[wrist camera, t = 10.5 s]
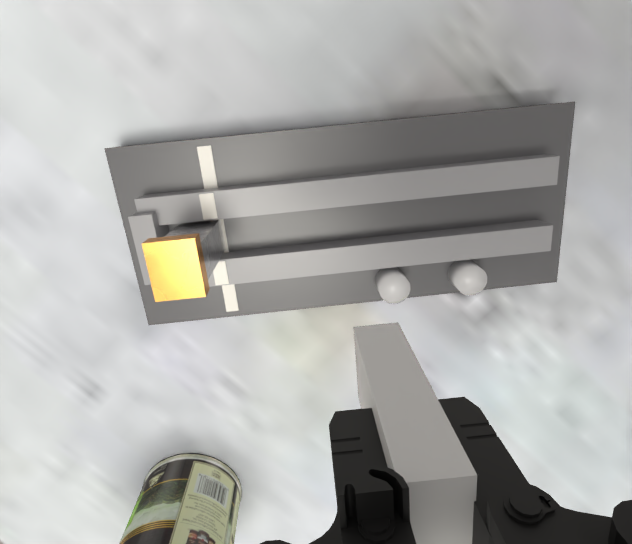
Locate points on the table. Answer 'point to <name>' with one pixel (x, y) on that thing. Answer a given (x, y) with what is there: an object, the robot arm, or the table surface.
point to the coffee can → (186, 503)
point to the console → (356, 209)
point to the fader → (184, 260)
